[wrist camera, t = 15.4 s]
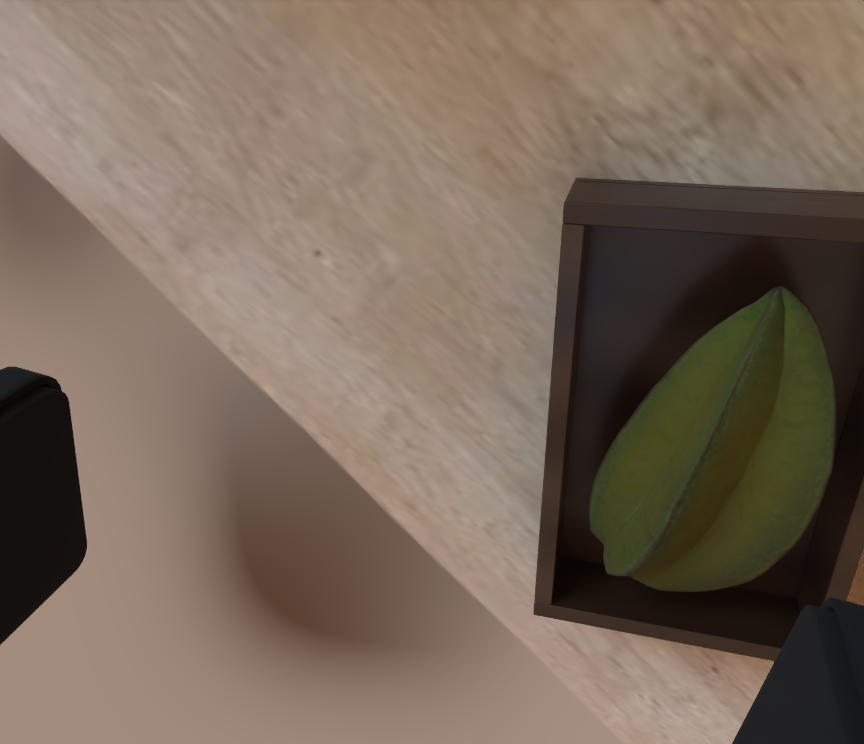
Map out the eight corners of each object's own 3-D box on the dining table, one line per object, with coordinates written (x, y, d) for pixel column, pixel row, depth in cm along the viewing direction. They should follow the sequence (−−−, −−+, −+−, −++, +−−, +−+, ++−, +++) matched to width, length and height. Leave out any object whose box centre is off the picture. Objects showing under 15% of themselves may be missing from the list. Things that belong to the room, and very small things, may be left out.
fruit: (919, 577, 28) (856, 454, 33) (844, 350, 22) (781, 242, 27) (630, 643, 32) (613, 525, 37) (501, 469, 26) (503, 356, 31)
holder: (575, 177, 30) (564, 201, 26) (928, 195, 27) (969, 225, 23) (544, 558, 39) (533, 615, 35) (807, 604, 36) (824, 671, 32)
